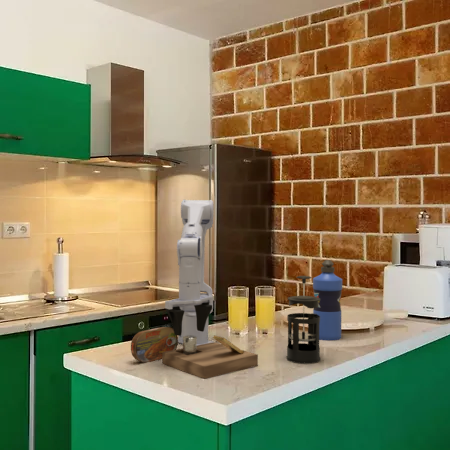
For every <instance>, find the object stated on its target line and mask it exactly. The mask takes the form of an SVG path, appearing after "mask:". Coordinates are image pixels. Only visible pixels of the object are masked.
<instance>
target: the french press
mask: <svg viewBox="0 0 450 450" xmlns="http://www.w3.org/2000/svg"><path fill="white" fill-rule="evenodd" d="M296 279H301V280H302V281H301V283H302V284H303V285H302V286H303V291H302V294H303V295H296V296H295V295H294V296H287V300H288V305H289V307H291V305H301V304H302V312H297V313H295V312H294V313H289V314H287V315H286V316H287V317H286V318H287V319H286V320H287V346H286V357H285V359H286V360H287V361H288V362H291V363H295V364H304V365H305V364H306V365H307V364H315V363H316V364H317V363H319V362H320V361H321V357H320V354H321V353H320V352H321V349H320V348H321V347H320V340H319V322H320V316H319V315H317V314H313V312H312V313H309V312H308V313H307V312H305V307H306V308H307V309H314V308H317V307H319V301H320V298H317V297H314V296H310V295H305V294H306V293H305V292H306V291H305V289H306V287H305V286H306V285H305V284H306V283H307V280H309V279H313V278H312V276H309V275H299V276H296ZM300 325H302V332H299V331H300ZM305 325H307V332H305ZM299 342H301V343H299ZM303 342H307V343H303Z"/></svg>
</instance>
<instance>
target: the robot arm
mask: <svg viewBox="0 0 450 450" xmlns="http://www.w3.org/2000/svg"><path fill="white" fill-rule="evenodd" d="M214 209H215V207H214V200H212V199H209V200H207V199H182V200H181V202H180V218H181V222H182V224H183V226H182V231H181V236H180V239H177V242H176V256H177V266H178V298H174V299H170V300H165V301H164V308H165V311H166V314H167V315H168V317H169V319H170V321H171V325H172V329H174V333H175V335H177V336H178V344H179V343H180V344H182V345H183V337H184V336H188V335H192V336H196V337H197V345H202V344H207V343H213V342H214V340H210V339H209V316H210V314H211V313H212V312H214V311H213V309H214V295H213V293H214V291H213V289H212V287H211V286H210V285H208V283H206V282H205V255H206V253H205V252H206V249H205V248H206V235H207V232H208V230H209V229H211V228H213V225H214V216H215V215H214V213H215V212H214V211H215V210H214Z"/></svg>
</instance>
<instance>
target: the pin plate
mask: <svg viewBox="0 0 450 450" xmlns="http://www.w3.org/2000/svg"><path fill="white" fill-rule="evenodd" d="M243 351H244V353H243V354H240V353H237V352H233V351H231V350H229V349H228V348H226V347H225V346H224V345H222V344H221V343H219V342H215V341H213V343H207V344H202V345H197V353H195V354H190V355H185V354H183V347H182V348H177V349H176V350H171V351H166V352H162V359H161V360H162V361H161V362H162V364H163V365H166V366H168V367H171V368H174V369H177V370H180V371H182V372H185V373H187V374H191V375H193V376H195V377H198V378H201V379H208V378H213V377H218V376H223V375H226V374H229V373H233V372H239V371H242V370H246V369H251V368H254V367H258V365H259V364H258V363H259V361H258V360H259V358H258V357H259V354H257V353H253V352H251V351H246V350H243Z"/></svg>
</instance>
